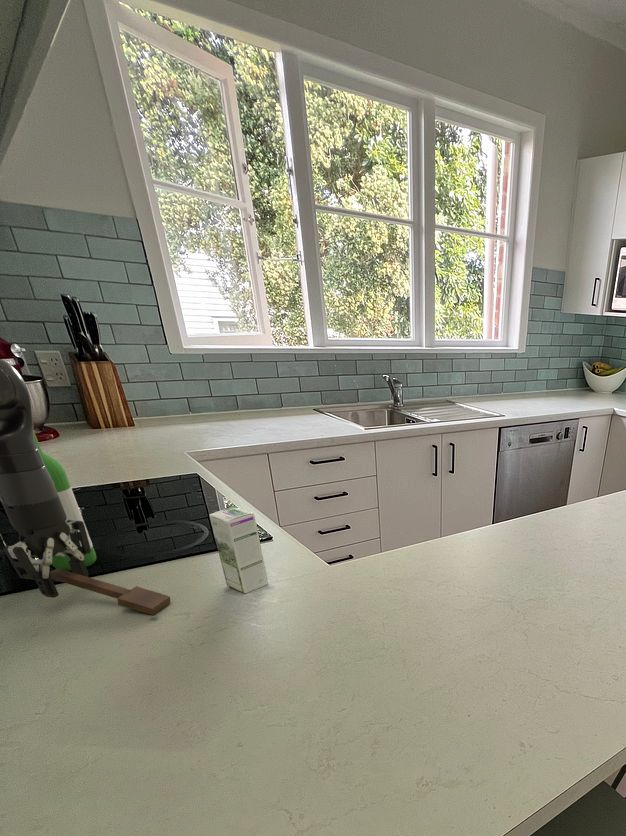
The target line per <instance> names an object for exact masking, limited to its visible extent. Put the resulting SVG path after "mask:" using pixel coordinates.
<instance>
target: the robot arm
mask: <svg viewBox="0 0 626 836" xmlns="http://www.w3.org/2000/svg"><path fill="white" fill-rule="evenodd" d="M32 409H33V408H32V401H31V396H30V392H29V389H28V386H27V383H26V382H25V380H24V378H23V377H22V375H21V374H20V373H19V372H18V370H17V369H16V368H15V367H14V366H13V365H12V364H10V363H9V362H8V361H6V360H4V359H1V358H0V503H1V505H2V506H3V509H4V512H5V513H6V515H7V518H8V520H9V523H10V524H11V526H12V528H14V529H15V530H16V531H17V533H18V535H19V536H18V542H16V543H15V544H13V545H5V546H4V547H3V553H4V554H5V555H6V557H7V559H8V560H9V562H10V563H11V565H12V567H13V568H14V570H15V572H16V573H17V575H18V577H19V578H20V579H24V580H25V579H26V580H33V581H35V582H36V585H37V587H38V589H39V592H40V593H41V594H42V595H43V596H44V597H46V598H52V599H54V598H56V597H59V592H58V589H57V587H56V585H55V582H54V579H52V578H51V576H50V566H52V557H53V556H55V555H56V554H57V553H60V552H61V553H63V554H64V555H65V556H66V557H67V558H68V559H70V561H68V562H69V564H70V567H71V569H72V570H71V572H73V573H76V574H79V575H83V576H86V577H89V571H88V567H86V565H85V563H84V558H85V557H84V556H85V555H86V554H89V553H90V552H91V549H90V545H89V541H88V537H87V533H86V530H85V526H86V525H85V526H84V523H85V522H84V523H83V522H82V521H75V520H67V522H65V521H66V519H67V517H66V514H65V511H64V509H63V506H62V503H61V501H60V498H59V496H58V493H57V491H56V488H55V485H54V483H53V480H52V478H51V476H50V474H49V473H48V471H47V469H46V467H45V465H44V462H43V459H42V457H41V454H40V452H39V449H38V447H37V444H36V442H35V440H34V433H35V431H34V419H33V410H32ZM69 535H70V539H71V540H70V539H69ZM79 541H80V542H81V545H82V546H80V542H79ZM39 557H42V559H40V558H39Z"/></svg>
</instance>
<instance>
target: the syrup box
mask: <svg viewBox="0 0 626 836" xmlns="http://www.w3.org/2000/svg"><path fill="white" fill-rule="evenodd" d="M208 515H209V520H210V524H211V528H212V532H213V537H214V540H215V544H216V548H217V551H218V552H217V553H218V557H219V560H220V564H221V568H222V572H223V575H224V580H225V584H226V586H227V587H229V588H231V589H234V590H236V591H238V592H240V593H242V594H247V593H250V592H254V591H255V590H258V589H260V588H262V587H263V588H264V587H265V586H267V585H269V579H268V574H267V569H266V565H265V560H264V555H263V549H262V545H261V541H260V535H259V531H258V525H257V521H256V517H255V513H254V512H251V511H248V510H245V509H243V508H239V507H236V506H233V507H227V508H223V509H221V510H217V511H215V512H213V513H209V514H208Z"/></svg>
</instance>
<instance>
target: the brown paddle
mask: <svg viewBox="0 0 626 836" xmlns="http://www.w3.org/2000/svg"><path fill="white" fill-rule="evenodd" d="M49 576H50V577H51V578H52V580H53V581H54V580H55V581H57V582H61V583H64V584H67V585H70V586H74V587H77V588H80V589H84V590H86V591H90V592H93V593H96V594H101V595H104V596H107V597H110V598H114V599H117V605H118V606H121V607H123V608H127V609H131V610H134V611H138V612H139V613H144V614H147V615H150V616H154V615H156V614H157V613H158V612H160V611H161V610H163V609H164V608H165V607H167V606H168V605H170V604H171V603H172V602H171V595H167V594H163V593H161V592H158V591H154V590H151V589H147V588H144V587H141V586H134V587H132V588H131V589H129V588H126V587H123V586H119V585H116V584H112V583H109V582H105V581H102V580H100V579H96V578H93V577H89V576H88V577H86V576H83V575H79V574H76V573H73V572H72V571H66V570H63V569H60V568H57V569H56V568H54V569H53V570H51V571H49Z"/></svg>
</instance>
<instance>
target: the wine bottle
mask: <svg viewBox="0 0 626 836" xmlns="http://www.w3.org/2000/svg"><path fill="white" fill-rule="evenodd" d="M34 440H35V442H36V444H37V447H38V449H39V452H40V454H41V457H42V459H43V462H44V465H45V467H46V469H47V471H48V473H49V474H50V476H51V478H52V480H53V483H54V485H55V488H56V491H57V493H58V496H59V498H60V501H61V503H62V506H63V509H64V511H65V514H66V517H67V519H66V521H65V522H67V520H75V521H82V522H83V523H84V526H85V530H86V533H87V537H88V541H89V545H90V549H91V552H90V553H89V554H86V555H85V556H84V557H85V558H84V563H85V565H86V568H89V567H90V566H92V565H93V564H95V562H96V561H97V554H96V551H95V548H94V545H93V542H92V540H91V537H90V534H89V531H88V529H87V525H86V523H85V520H84V518H83V514H82V512H81V510H80V508H79V504H78V502H77V499H76V496H75V494H74V491H73V489H72V486H71V484H70V481H69V478H68V475H67V473H66V471H65V469H64V467H63V465H62V464H61V463H60V462H59V461H58V460H57V459H55V458H54V457H53V456H51V455H48V454H47V453H45V452H44V451H43V450H42V448H41V445H40V443H39V440H38V438H37V435H36V433H35V432H34ZM69 539H70V535H69ZM70 540H71V539H70ZM79 542H80V541H79ZM80 546H82V545H81V542H80ZM68 561H70V559H68V558H67V557H66V556H65V555H64V554H63V553H61V552H60V553H57V554H56V555H55V556H53V557H52V564H51V566H52V567H53V568H54V569H57V568H60V569H63V570H66V571H69V572H72V569H71V567H70V564H69V562H68Z"/></svg>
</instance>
